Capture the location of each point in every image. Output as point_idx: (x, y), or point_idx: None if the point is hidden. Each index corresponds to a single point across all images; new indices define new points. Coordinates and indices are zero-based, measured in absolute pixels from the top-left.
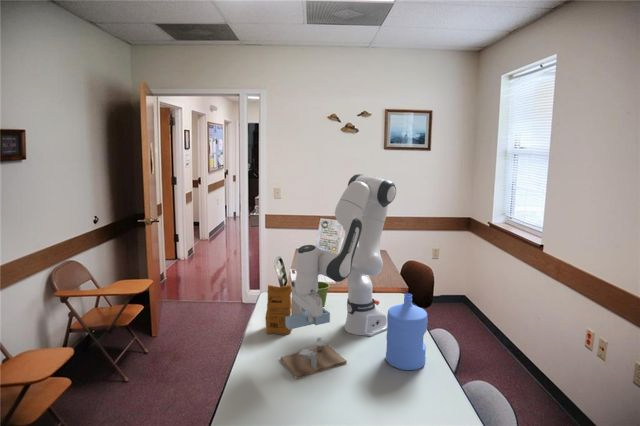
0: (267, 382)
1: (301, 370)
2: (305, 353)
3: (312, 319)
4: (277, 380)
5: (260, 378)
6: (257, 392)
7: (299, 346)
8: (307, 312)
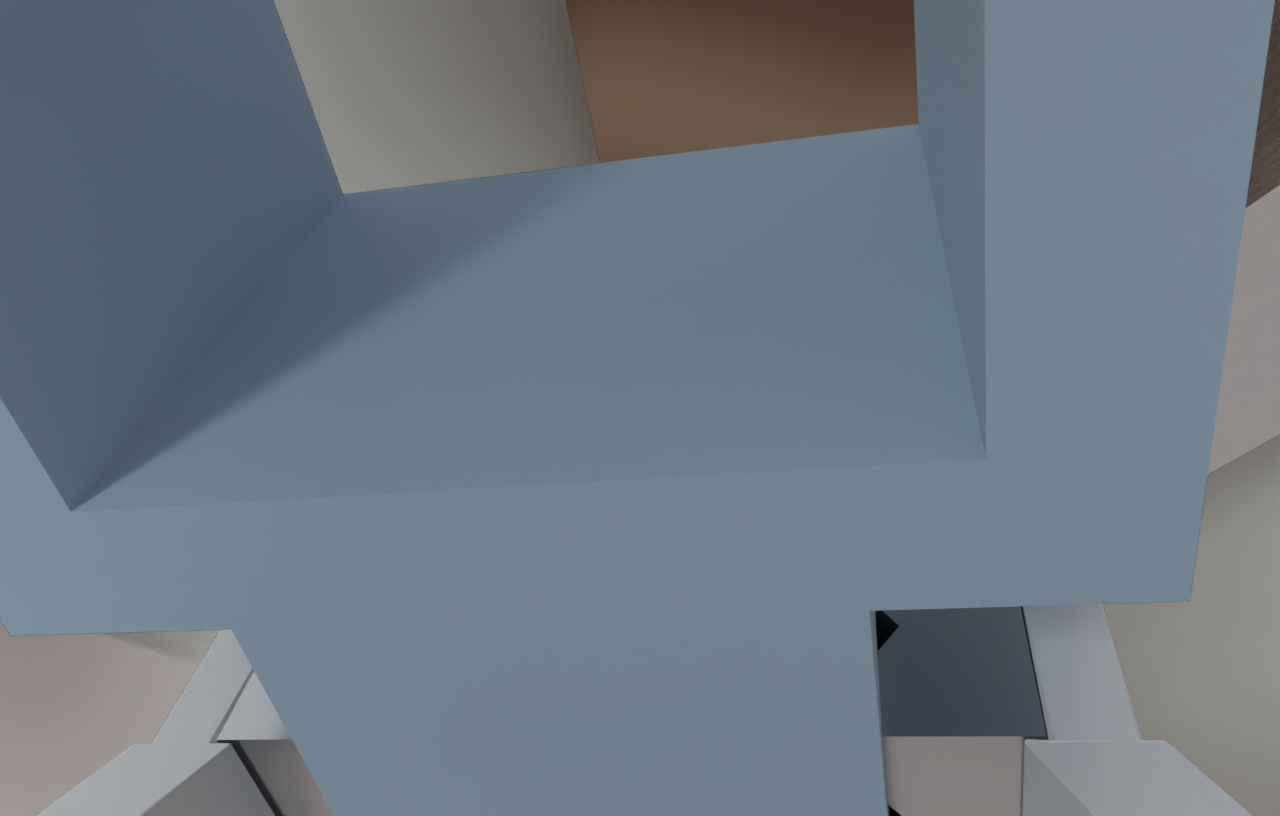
0: (1129, 683)
1: None
2: (1271, 374)
3: (1109, 640)
4: None
5: None
6: (1254, 795)
7: (292, 16)
8: (381, 787)
